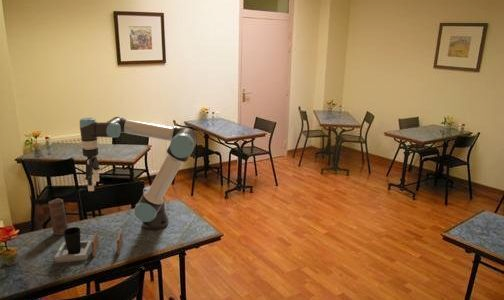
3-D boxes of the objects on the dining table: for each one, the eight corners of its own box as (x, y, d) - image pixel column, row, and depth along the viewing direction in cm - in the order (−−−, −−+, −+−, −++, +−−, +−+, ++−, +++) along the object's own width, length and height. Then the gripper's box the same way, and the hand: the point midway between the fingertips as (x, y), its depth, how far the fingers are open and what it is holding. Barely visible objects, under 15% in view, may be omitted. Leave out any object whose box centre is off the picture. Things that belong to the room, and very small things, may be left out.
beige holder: (122, 244, 198) (121, 230, 195) (120, 254, 188) (118, 240, 186) (97, 246, 195) (95, 232, 193) (92, 256, 186) (91, 242, 184)
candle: (55, 237, 202) (50, 204, 196) (51, 232, 207) (46, 199, 202) (70, 233, 207) (65, 200, 201) (66, 228, 212) (61, 196, 207)
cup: (76, 257, 183) (73, 235, 180) (62, 255, 185) (59, 233, 181) (86, 249, 191) (83, 228, 187) (72, 247, 192) (70, 226, 189)
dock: (92, 245, 196) (91, 239, 195) (86, 260, 183) (85, 254, 182) (63, 247, 193) (62, 241, 192) (55, 262, 180) (54, 256, 179)
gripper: (88, 141, 204) (91, 177, 210) (76, 155, 181) (80, 195, 187) (102, 141, 206) (105, 177, 212) (92, 154, 182) (96, 194, 188)
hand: (94, 185), depth 199 cm, fingers open, 13 cm apart
